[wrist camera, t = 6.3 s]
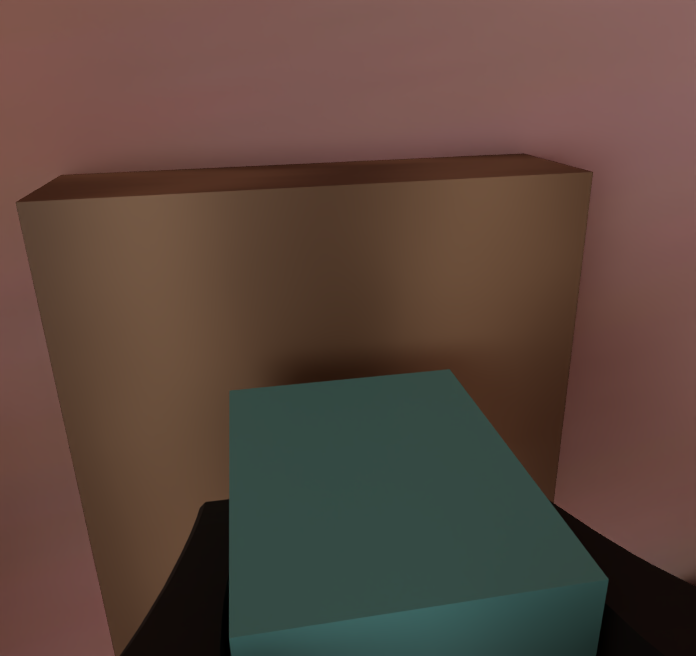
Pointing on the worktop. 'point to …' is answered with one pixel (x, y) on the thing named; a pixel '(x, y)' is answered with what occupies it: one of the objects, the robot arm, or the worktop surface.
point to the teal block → (395, 529)
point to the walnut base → (288, 318)
